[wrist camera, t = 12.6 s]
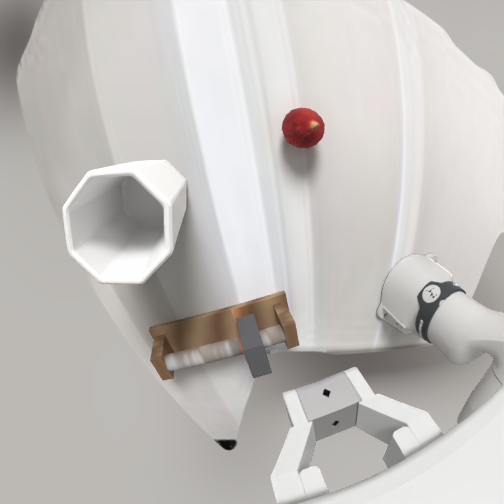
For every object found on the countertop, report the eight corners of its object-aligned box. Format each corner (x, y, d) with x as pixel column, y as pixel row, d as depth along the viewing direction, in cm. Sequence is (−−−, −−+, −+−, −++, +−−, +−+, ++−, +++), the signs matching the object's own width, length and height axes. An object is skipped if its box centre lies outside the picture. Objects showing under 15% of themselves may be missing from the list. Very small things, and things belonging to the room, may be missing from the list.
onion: (304, 154, 40) (325, 155, 32) (270, 138, 38) (285, 136, 31) (318, 121, 38) (341, 117, 31) (285, 105, 36) (302, 95, 29)
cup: (201, 174, 38) (197, 192, 21) (173, 241, 41) (153, 305, 24) (132, 147, 35) (79, 147, 18) (108, 216, 38) (52, 262, 21)
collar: (253, 313, 45) (263, 344, 37) (261, 341, 47) (271, 372, 40) (236, 318, 45) (242, 350, 37) (245, 345, 47) (253, 378, 40)
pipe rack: (283, 290, 48) (296, 314, 41) (291, 325, 51) (303, 350, 44) (149, 327, 46) (143, 354, 39) (167, 358, 49) (164, 386, 42)
